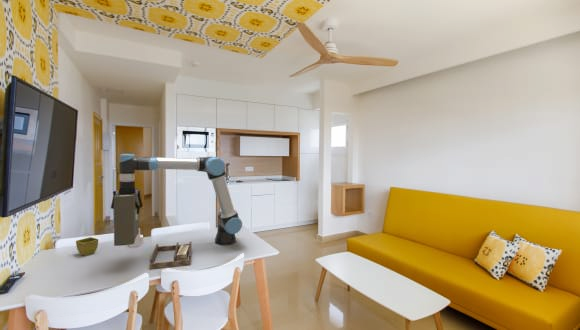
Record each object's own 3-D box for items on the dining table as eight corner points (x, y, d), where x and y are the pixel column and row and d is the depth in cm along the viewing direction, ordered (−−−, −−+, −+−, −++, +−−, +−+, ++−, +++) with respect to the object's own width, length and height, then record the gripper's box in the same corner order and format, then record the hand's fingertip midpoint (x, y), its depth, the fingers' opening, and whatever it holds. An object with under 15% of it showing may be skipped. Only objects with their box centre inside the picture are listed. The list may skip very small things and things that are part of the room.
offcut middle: (188, 251, 174) (188, 248, 174) (186, 260, 158) (186, 257, 158) (180, 251, 172) (180, 248, 172) (177, 261, 157) (177, 258, 157)
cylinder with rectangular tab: (145, 245, 186) (145, 228, 186) (130, 248, 180) (130, 230, 179) (140, 242, 192) (140, 225, 192) (126, 245, 186) (126, 228, 185)
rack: (191, 249, 180) (191, 240, 180) (190, 266, 154) (190, 256, 153) (156, 252, 173) (156, 243, 173) (149, 271, 147) (149, 260, 146)
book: (133, 245, 147) (133, 195, 145) (113, 247, 143) (113, 195, 141) (138, 233, 167) (138, 188, 165) (121, 234, 163) (120, 189, 161)
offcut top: (189, 248, 174) (189, 245, 174) (185, 257, 158) (185, 254, 158) (180, 248, 172) (180, 245, 172) (176, 258, 157) (176, 254, 157)
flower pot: (99, 253, 170) (99, 239, 170) (83, 257, 163) (83, 243, 162) (90, 250, 174) (90, 236, 174) (75, 255, 166) (75, 240, 166)
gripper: (149, 180, 160) (149, 217, 161) (107, 180, 153) (107, 219, 154) (146, 181, 153) (146, 220, 154) (103, 181, 146) (103, 222, 147)
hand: (127, 220), depth 154 cm, fingers closed on book, 8 cm apart
